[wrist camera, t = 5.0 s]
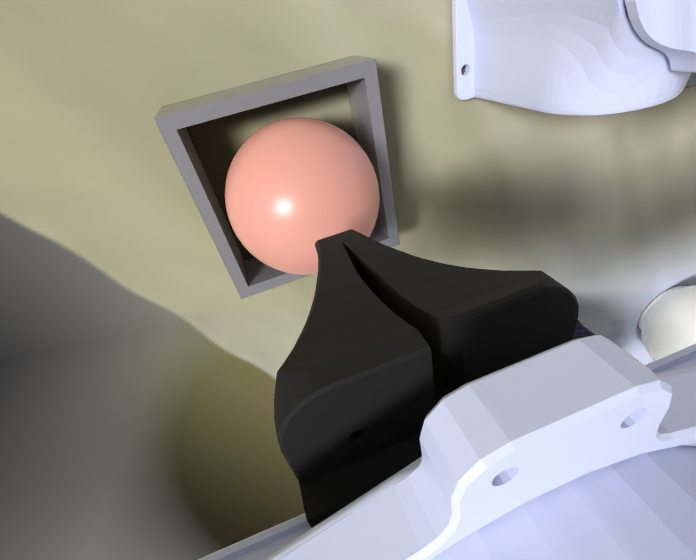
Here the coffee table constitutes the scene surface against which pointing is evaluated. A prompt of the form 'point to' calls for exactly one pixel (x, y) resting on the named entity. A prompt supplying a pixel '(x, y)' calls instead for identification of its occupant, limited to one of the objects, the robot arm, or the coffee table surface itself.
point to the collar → (350, 70)
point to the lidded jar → (669, 322)
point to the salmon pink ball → (299, 191)
